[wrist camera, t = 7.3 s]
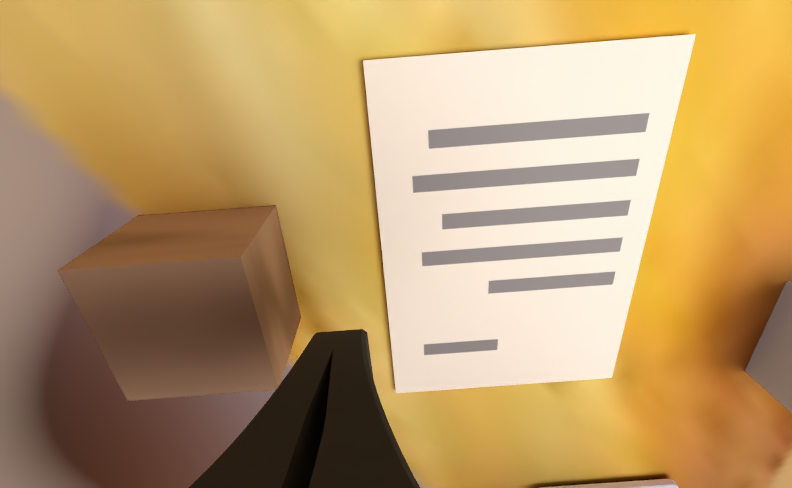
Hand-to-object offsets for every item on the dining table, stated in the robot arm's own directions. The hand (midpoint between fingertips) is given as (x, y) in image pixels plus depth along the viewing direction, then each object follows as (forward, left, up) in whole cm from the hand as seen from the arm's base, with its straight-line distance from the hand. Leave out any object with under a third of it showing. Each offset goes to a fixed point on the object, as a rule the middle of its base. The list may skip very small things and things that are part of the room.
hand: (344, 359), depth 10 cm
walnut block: (0, +5, -5) cm, 7 cm away
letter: (0, -6, -5) cm, 8 cm away
